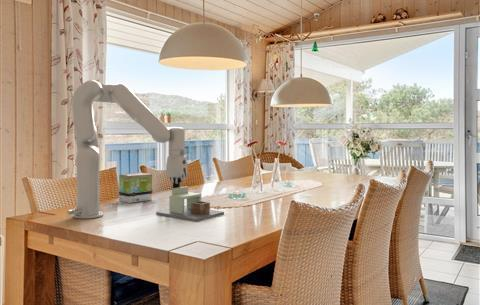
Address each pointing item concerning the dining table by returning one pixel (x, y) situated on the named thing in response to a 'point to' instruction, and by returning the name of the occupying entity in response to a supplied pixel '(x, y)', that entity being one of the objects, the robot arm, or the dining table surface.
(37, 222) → the dining table surface
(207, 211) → the wooden crate
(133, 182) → the tea box
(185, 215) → the board
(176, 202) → the cover
